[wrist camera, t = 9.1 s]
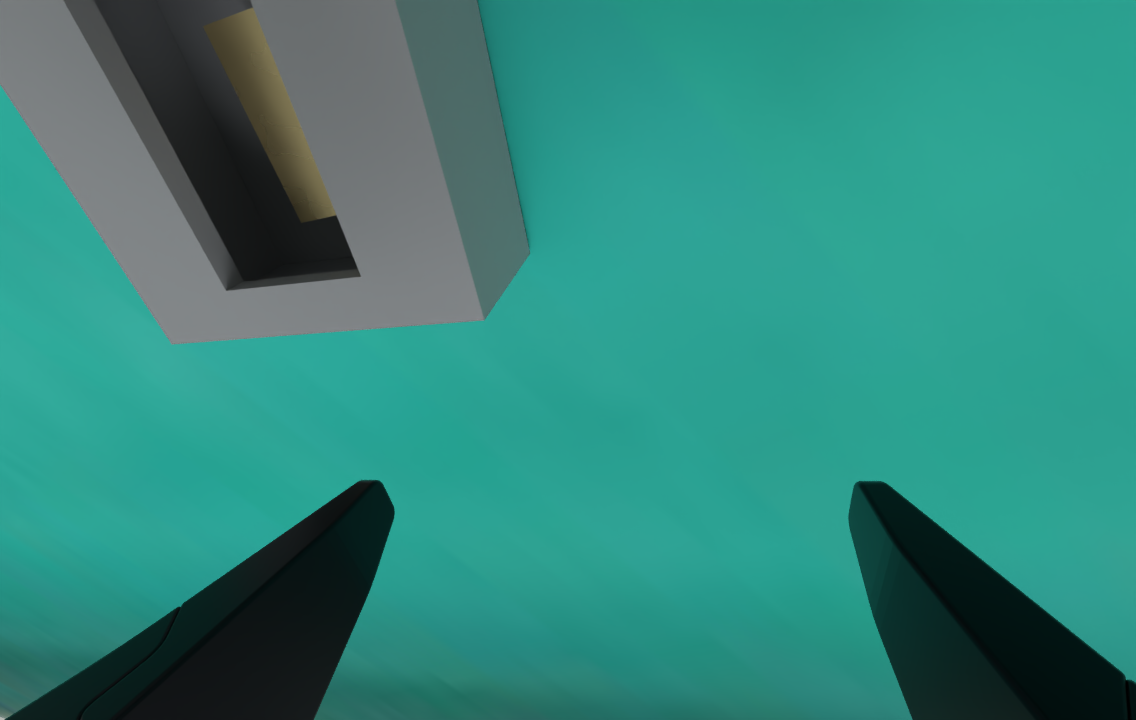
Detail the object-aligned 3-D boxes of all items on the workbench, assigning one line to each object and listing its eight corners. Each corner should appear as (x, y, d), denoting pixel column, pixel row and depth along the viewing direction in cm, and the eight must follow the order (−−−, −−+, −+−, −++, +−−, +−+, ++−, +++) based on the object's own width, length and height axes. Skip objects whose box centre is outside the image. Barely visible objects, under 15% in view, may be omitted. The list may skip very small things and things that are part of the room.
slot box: (444, -156, 14) (316, -281, 9) (530, 253, 20) (484, 320, 15) (119, -52, 16) (-121, -100, 11) (282, 280, 22) (171, 344, 17)
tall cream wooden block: (334, 4, 16) (283, -5, 14) (405, 190, 19) (372, 207, 17) (261, 30, 17) (202, 26, 14) (340, 205, 19) (301, 223, 17)
